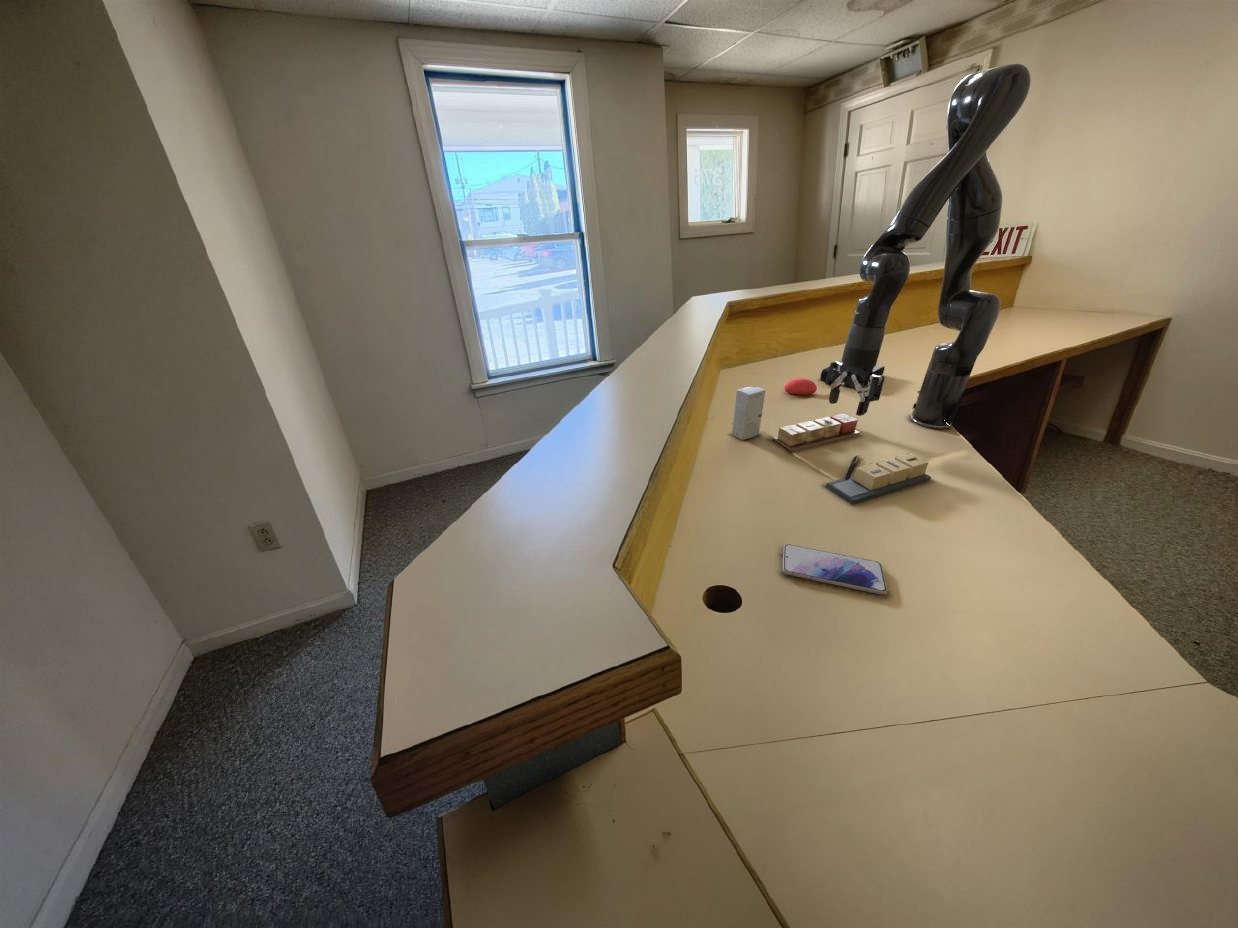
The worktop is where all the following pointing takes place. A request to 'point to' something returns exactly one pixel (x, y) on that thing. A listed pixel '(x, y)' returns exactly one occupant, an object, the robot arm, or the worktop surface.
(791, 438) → the letter tile tray
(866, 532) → the worktop surface
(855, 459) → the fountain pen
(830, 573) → the smartphone
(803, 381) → the stress ball
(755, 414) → the cosmetic box
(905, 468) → the wooden block rack
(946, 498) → the worktop surface
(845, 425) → the red plus-sign block
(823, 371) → the multimeter
